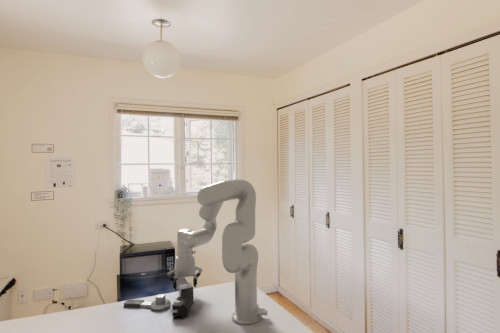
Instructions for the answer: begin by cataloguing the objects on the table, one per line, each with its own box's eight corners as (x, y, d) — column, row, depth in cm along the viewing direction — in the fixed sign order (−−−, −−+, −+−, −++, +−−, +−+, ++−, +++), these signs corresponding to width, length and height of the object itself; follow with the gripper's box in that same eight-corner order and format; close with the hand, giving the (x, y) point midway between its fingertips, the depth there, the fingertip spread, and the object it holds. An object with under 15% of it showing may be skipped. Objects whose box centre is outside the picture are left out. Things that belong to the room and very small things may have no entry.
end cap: (188, 320, 128) (187, 304, 128) (172, 320, 129) (171, 304, 129) (194, 309, 138) (193, 294, 138) (179, 309, 139) (178, 294, 139)
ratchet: (173, 302, 145) (173, 292, 145) (165, 311, 136) (165, 300, 136) (131, 300, 148) (130, 290, 148) (120, 309, 139) (120, 298, 139)
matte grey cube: (191, 294, 154) (190, 283, 154) (193, 299, 148) (193, 287, 148) (179, 296, 151) (179, 284, 151) (181, 301, 146) (180, 289, 146)
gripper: (200, 250, 157) (200, 282, 157) (166, 253, 150) (166, 287, 150) (203, 254, 150) (203, 287, 150) (168, 258, 143) (168, 293, 143)
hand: (185, 287), depth 150 cm, fingers open, 9 cm apart
